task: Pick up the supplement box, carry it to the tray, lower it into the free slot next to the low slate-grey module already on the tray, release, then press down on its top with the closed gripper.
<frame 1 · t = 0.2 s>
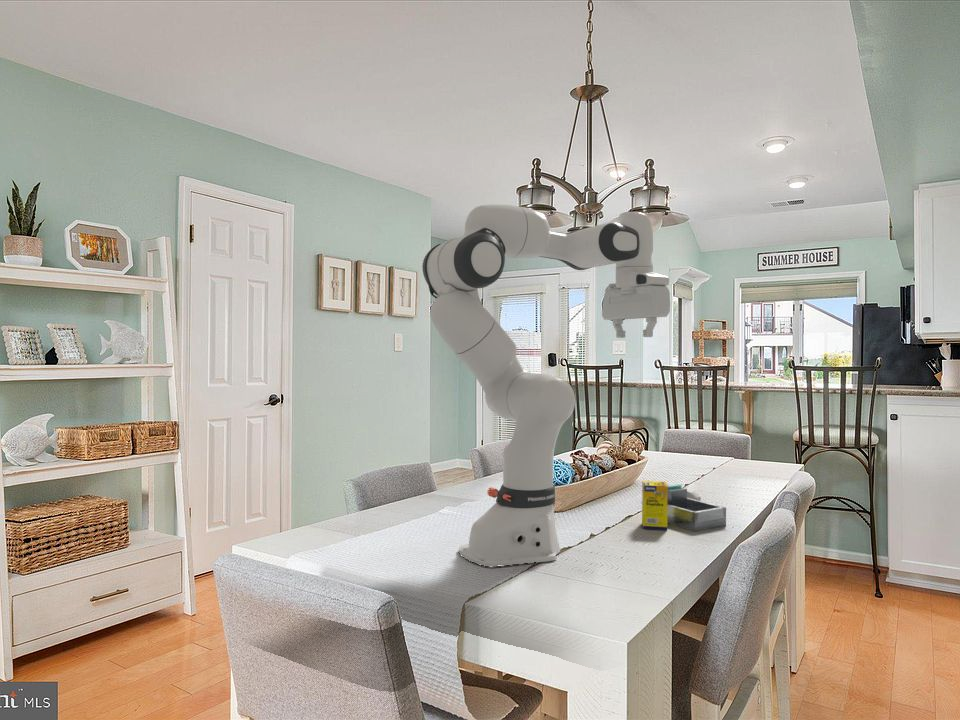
hand: (634, 337, 159), 47 cm above the table, fingers open, 8 cm apart
supplement box: (654, 527, 164), on the table
tray: (685, 520, 169), on the table
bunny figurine: (672, 503, 190), on the table
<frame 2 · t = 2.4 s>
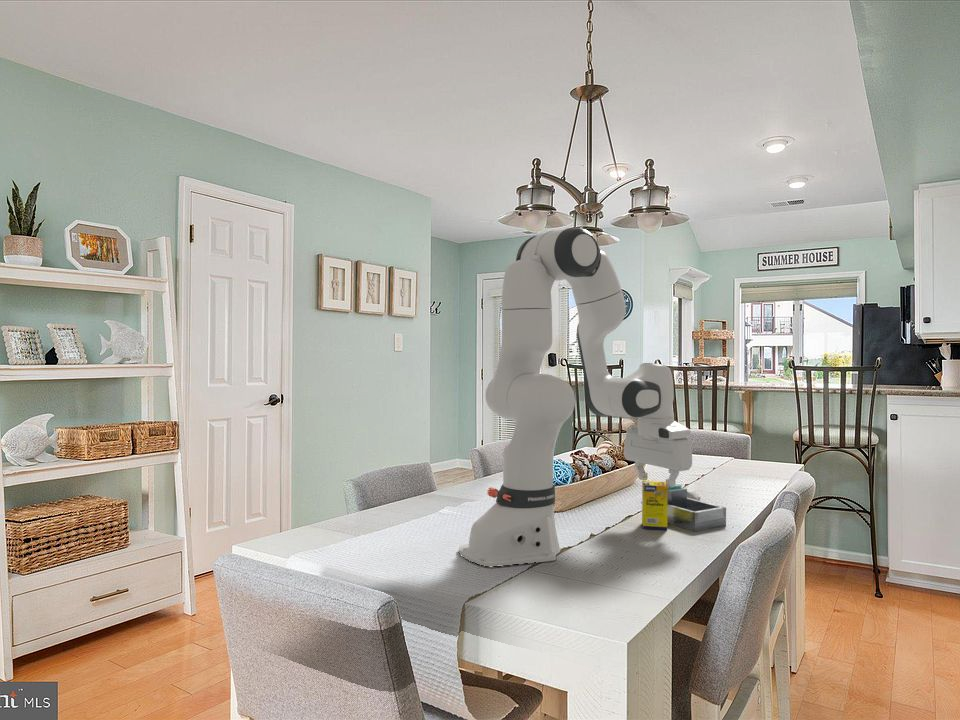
hand: (656, 483, 164), 11 cm above the table, fingers open, 8 cm apart
supplement box: (654, 527, 164), on the table, touching gripper
everything else where it was.
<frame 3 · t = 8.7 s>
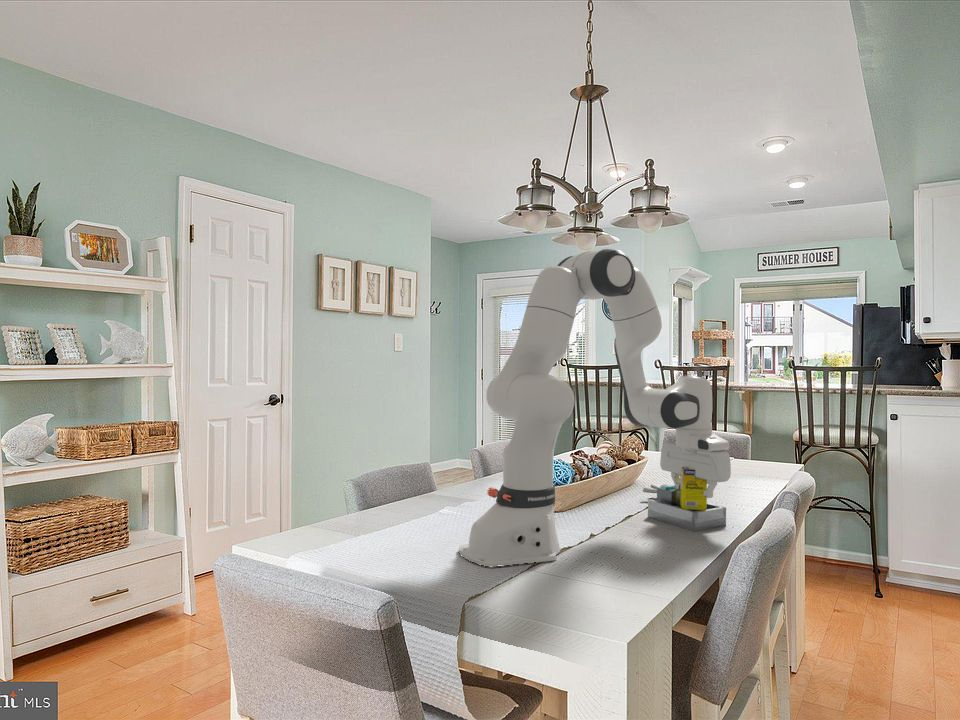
hand: (693, 493, 167), 8 cm above the table, fingers closed on supplement box, 8 cm apart
supplement box: (692, 510, 167), point 3 cm above the table, touching gripper
everything else where it was.
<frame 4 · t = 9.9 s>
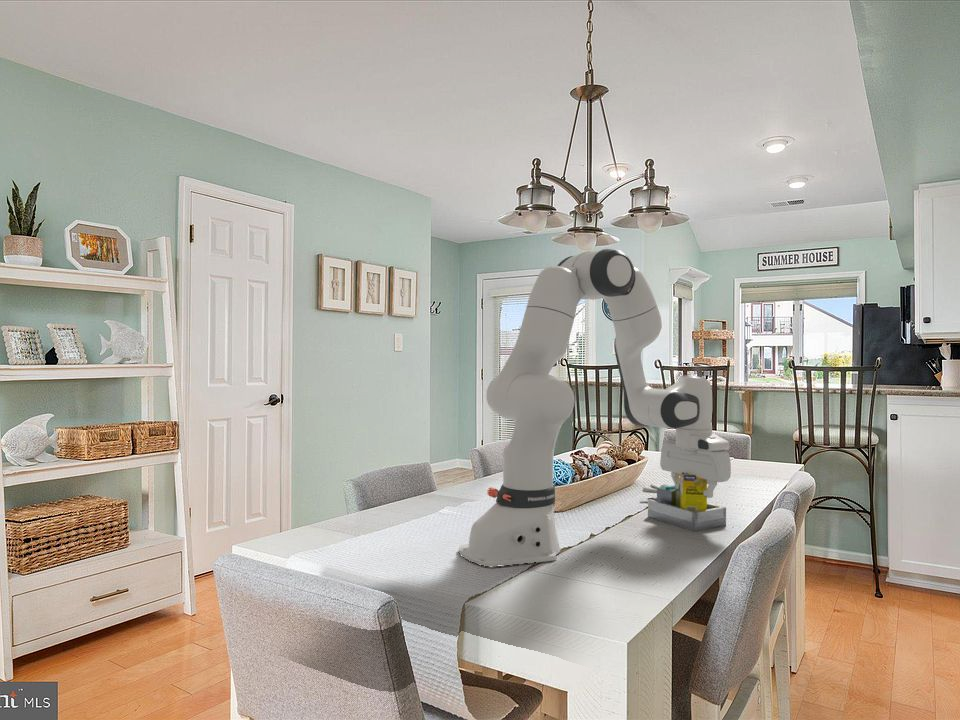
hand: (693, 493, 167), 8 cm above the table, fingers closed on supplement box, 8 cm apart
supplement box: (693, 516, 167), point 2 cm above the table, touching gripper, tray
everything else where it was.
when the fingers open (8 cm above the table, at t = 10.3 s): supplement box stays where it is, resting on tray.
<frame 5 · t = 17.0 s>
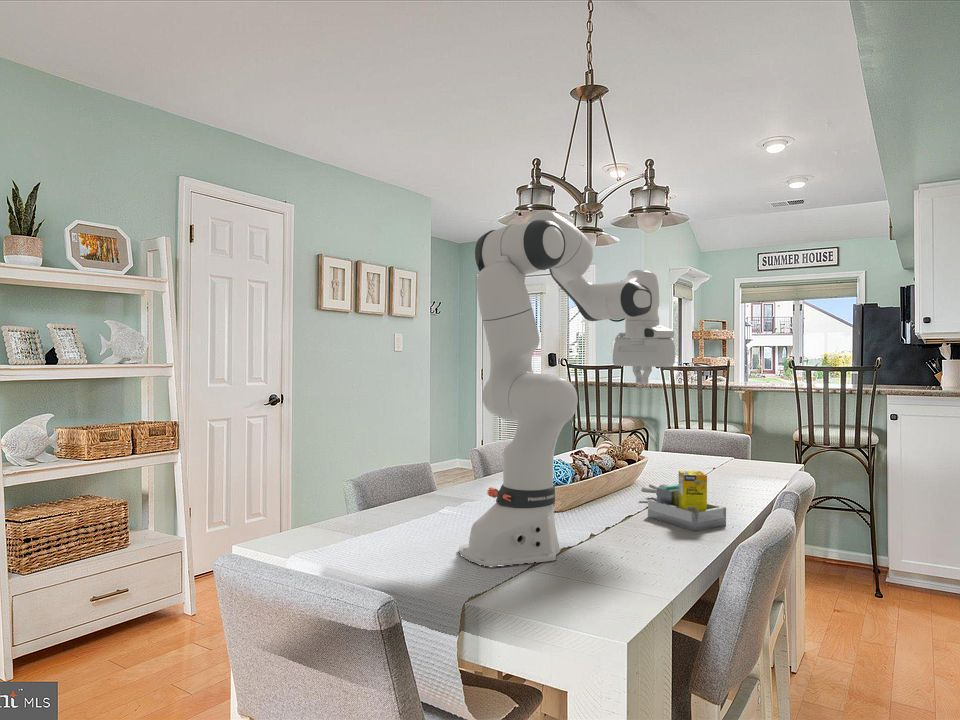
hand: (642, 383, 176), 35 cm above the table, fingers closed
supplement box: (692, 516, 167), point 2 cm above the table, touching tray
everything else where it was.
at the end: supplement box 0.4 cm from the target spot on the tray, point 1.8 cm above the tray's base; supplement box tilted 0°; the gripper is holding nothing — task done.
